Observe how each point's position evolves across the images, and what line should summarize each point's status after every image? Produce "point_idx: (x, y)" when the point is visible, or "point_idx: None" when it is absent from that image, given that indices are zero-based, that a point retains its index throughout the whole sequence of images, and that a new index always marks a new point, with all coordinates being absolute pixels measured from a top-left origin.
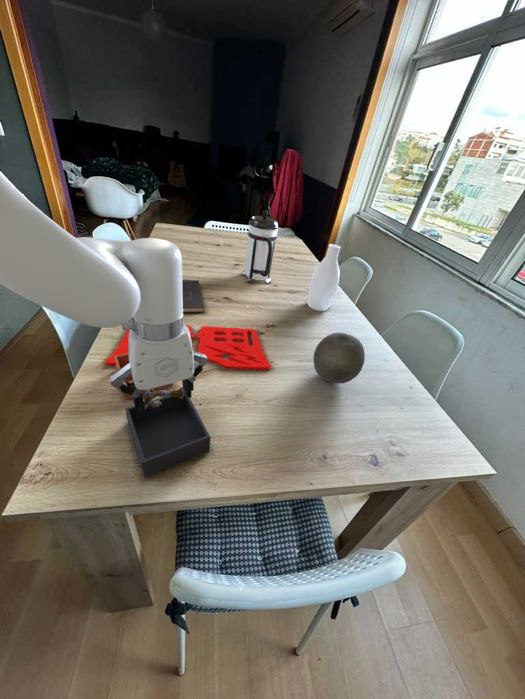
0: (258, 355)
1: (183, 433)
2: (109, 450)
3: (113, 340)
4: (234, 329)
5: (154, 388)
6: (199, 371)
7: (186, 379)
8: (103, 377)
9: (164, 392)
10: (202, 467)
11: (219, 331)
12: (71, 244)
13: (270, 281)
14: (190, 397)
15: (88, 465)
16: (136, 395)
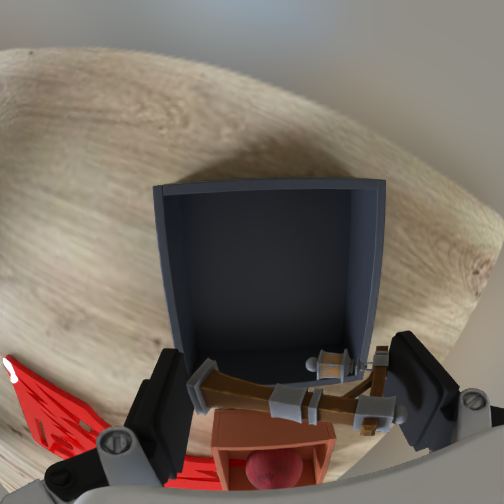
0: (24, 395)
1: (226, 267)
2: (398, 285)
3: None
4: None
5: (259, 416)
6: (63, 469)
7: (160, 453)
8: (340, 448)
9: (299, 410)
10: (209, 142)
11: None
12: None
13: (28, 483)
14: (168, 348)
15: (435, 264)
16: (469, 400)
